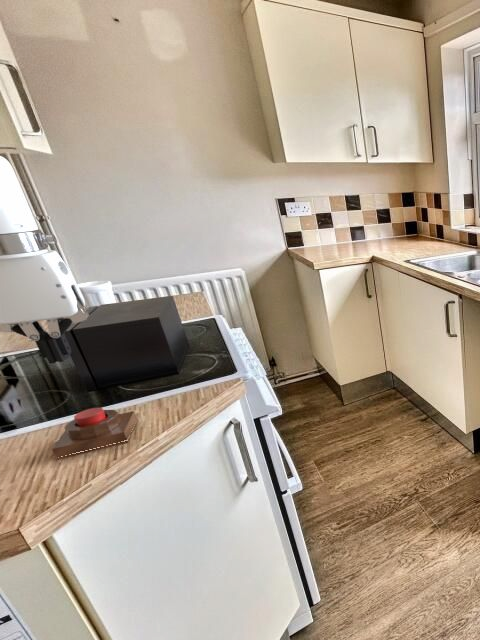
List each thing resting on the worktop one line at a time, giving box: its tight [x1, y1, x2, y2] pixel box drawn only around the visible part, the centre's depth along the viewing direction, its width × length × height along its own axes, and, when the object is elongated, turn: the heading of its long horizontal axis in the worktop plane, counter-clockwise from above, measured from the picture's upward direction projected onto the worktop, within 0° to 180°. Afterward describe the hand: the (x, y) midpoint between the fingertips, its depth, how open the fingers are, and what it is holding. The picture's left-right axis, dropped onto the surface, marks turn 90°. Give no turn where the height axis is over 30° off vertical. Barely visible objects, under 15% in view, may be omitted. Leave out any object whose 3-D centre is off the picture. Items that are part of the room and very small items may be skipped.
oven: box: [73, 295, 190, 391], centre depth 99 cm, size 14×20×14 cm
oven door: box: [64, 306, 99, 393], centre depth 94 cm, size 5×20×14 cm, turn 30°
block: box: [51, 409, 139, 461], centre depth 73 cm, size 9×8×4 cm
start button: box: [73, 407, 107, 427], centre depth 72 cm, size 4×4×2 cm
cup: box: [77, 280, 117, 310], centre depth 122 cm, size 8×8×14 cm
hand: (60, 359), depth 68 cm, fingers closed
